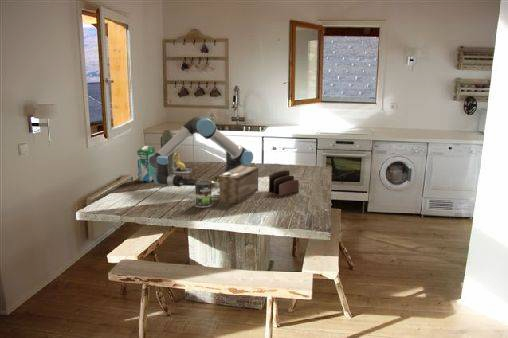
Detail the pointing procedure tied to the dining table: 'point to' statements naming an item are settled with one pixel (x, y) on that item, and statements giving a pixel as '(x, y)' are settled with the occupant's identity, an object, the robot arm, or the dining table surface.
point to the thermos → (166, 137)
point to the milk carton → (145, 164)
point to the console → (238, 184)
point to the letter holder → (282, 183)
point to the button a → (214, 184)
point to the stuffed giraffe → (179, 164)
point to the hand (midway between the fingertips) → (206, 184)
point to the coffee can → (203, 194)
